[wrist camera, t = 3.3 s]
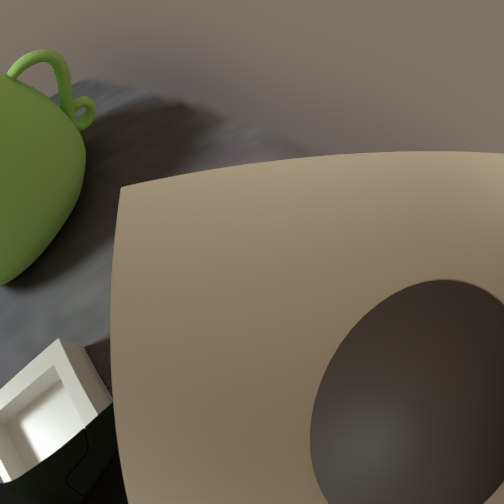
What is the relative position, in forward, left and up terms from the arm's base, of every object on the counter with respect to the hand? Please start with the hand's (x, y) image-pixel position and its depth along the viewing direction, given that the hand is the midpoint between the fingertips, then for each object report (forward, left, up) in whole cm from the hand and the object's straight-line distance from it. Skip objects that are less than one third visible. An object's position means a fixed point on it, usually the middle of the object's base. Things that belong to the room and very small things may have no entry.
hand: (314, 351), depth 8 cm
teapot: (+21, +11, -7) cm, 24 cm away
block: (-1, +1, -7) cm, 7 cm away
